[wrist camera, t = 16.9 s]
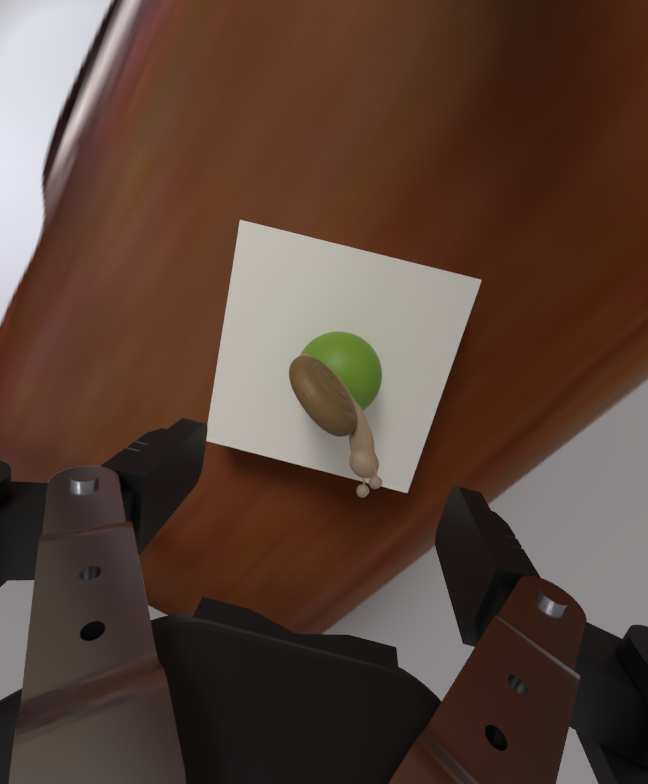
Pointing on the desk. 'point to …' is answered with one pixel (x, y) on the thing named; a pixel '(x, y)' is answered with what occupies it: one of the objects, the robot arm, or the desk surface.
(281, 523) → the desk surface
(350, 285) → the cream block
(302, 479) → the desk surface
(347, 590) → the desk surface
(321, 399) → the snail figurine
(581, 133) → the desk surface
